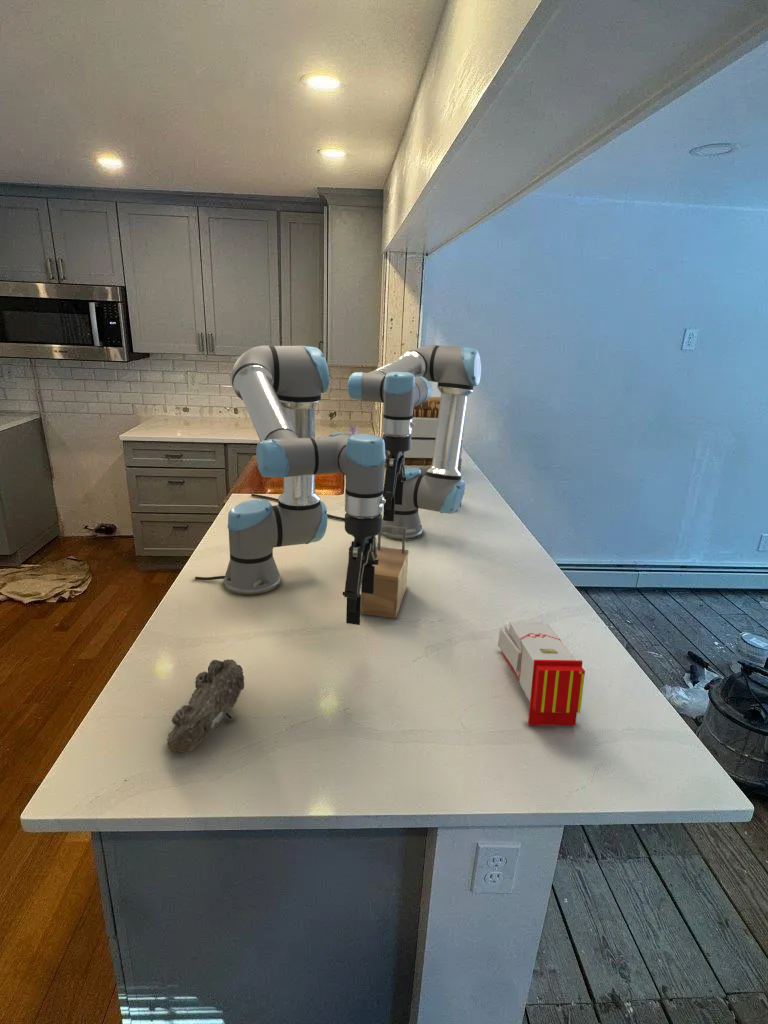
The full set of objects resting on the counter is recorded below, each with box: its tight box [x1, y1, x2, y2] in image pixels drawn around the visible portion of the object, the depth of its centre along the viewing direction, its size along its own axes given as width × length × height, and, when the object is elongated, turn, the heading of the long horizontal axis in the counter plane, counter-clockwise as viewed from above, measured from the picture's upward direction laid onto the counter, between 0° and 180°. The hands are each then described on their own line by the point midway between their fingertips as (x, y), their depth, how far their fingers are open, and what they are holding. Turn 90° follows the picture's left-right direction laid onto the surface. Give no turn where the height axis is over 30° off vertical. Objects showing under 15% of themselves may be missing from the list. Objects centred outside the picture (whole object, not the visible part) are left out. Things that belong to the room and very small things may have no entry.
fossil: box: [166, 658, 245, 754], centre depth 106 cm, size 22×10×15 cm
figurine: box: [348, 424, 359, 435], centre depth 305 cm, size 9×10×15 cm
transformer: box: [385, 396, 465, 475], centre depth 268 cm, size 34×33×41 cm
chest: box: [360, 555, 409, 619], centre depth 152 cm, size 17×9×11 cm, turn 169°
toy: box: [497, 621, 586, 727], centre depth 121 cm, size 12×13×30 cm
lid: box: [373, 525, 410, 581], centre depth 149 cm, size 18×9×8 cm, turn 169°
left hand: (360, 607), depth 120 cm, fingers open, 13 cm apart
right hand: (393, 512), depth 153 cm, fingers open, 13 cm apart
